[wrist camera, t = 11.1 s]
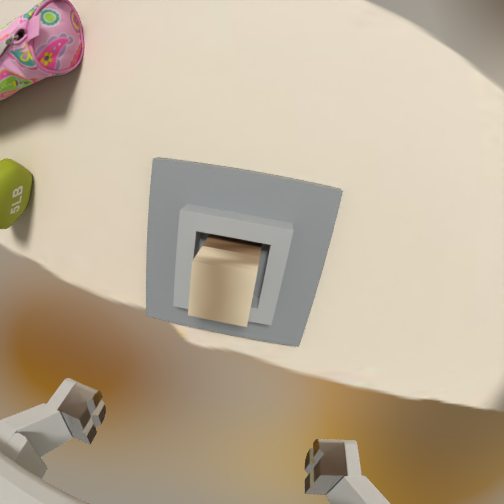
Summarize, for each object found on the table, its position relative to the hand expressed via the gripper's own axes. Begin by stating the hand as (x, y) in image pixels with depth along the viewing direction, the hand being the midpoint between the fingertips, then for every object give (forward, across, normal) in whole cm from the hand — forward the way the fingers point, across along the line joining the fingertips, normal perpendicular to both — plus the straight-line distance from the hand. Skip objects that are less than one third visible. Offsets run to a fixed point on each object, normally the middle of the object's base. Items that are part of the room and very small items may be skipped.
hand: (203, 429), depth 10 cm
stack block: (+18, +2, +2) cm, 18 cm away
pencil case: (+20, +29, -16) cm, 39 cm away
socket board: (+20, +2, +2) cm, 20 cm away
